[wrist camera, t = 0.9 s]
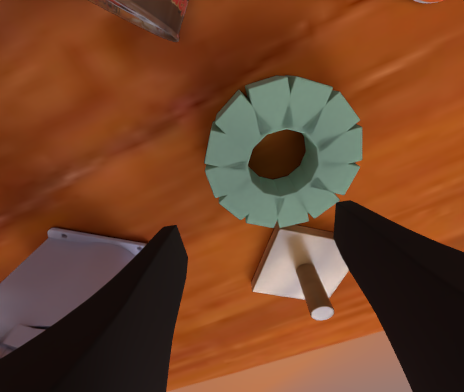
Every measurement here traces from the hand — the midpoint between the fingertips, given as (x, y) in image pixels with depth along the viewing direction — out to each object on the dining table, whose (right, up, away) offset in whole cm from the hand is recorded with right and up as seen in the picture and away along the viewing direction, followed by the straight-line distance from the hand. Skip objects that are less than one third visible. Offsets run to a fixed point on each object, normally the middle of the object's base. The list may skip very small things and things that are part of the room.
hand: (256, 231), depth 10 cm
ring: (+2, +5, +8) cm, 10 cm away
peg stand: (+7, -5, +14) cm, 17 cm away
